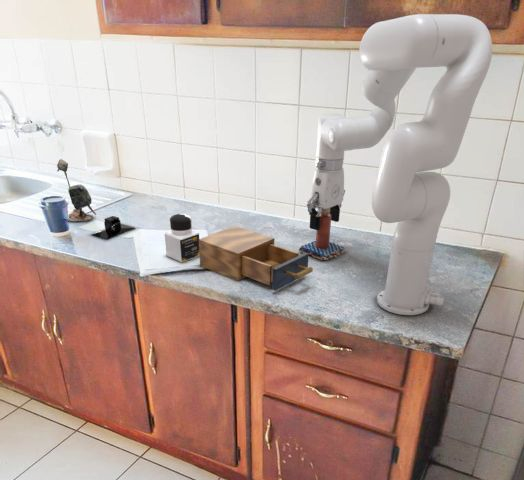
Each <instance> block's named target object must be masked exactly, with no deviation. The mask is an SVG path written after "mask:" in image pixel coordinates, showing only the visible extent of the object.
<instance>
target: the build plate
mask: <svg viewBox="0 0 524 480" xmlns="http://www.w3.org/2000/svg"><path fill="white" fill-rule="evenodd" d="M103 224H104V229H102V230H99V231H96V232H93V233H91V236H93V237H95V238H99V239H102V240H106V241H108V240H110V239H113V238H115V237H118V236H120V235H123V234H126V233H128V232H131V231H133V230H136V227H134V226H131V225H127V224H123V223H121V219H120V217H118V216H115V215H112V216H108V217H106V218H104V222H103Z"/></svg>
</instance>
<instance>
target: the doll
mask: <svg viewBox="0 0 524 480" xmlns="http://www.w3.org/2000/svg"><path fill="white" fill-rule="evenodd" d="M329 213H330V208H328V209H322V211H321V213H320V215H319V216H321V220H320V230H318V231H317V230H315V231H316V232H315V241H316V244H315V246H316V247H317V248H328V247H329V242H330V238H331V227H332V220H331V217H332V215H331V214H329Z"/></svg>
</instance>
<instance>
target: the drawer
mask: <svg viewBox="0 0 524 480" xmlns="http://www.w3.org/2000/svg"><path fill="white" fill-rule="evenodd" d="M309 256H310V255H309V254H308V253H301V254H300V253H299V252H297V251H296V250H295V251H294V250H291V249H289V248H285V247H282V246H280V245H277V244H274V245H273V244H270V243H269V244H267V245H265V246H262V247H260V248H258V249H255V250H253V251H251V252H248V253H246V254H244V255H241V256H240V261H241V275H244V276H246V278H249V279H252V280H254V281H257V282H259V283H262V284H265V285H268V286H271V290H272V291H274V292H276V291H279V290H280V289H282V288H284V287H286V286H287V285H290V284H291V283H294V282H295V281H298V280H299V279H302V278H303V277H306V276H307V275H309V274H311V273H313V271H314V269H313V267H312V266H309Z"/></svg>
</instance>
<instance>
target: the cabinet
mask: <svg viewBox="0 0 524 480" xmlns="http://www.w3.org/2000/svg"><path fill="white" fill-rule="evenodd" d="M269 243H270V244H273V245H275V237H272V236H269V235H266V234H263V233H259V232H257V231H254V230H250V229H248V228H245V227H241V226H237V225H233V226H231V227H228V228H225V229H222V230H219V231H217V232H215V233H212V234H210V235H207V236H203V237H201V238H199V256H198V257H199V267H201V268H205V269H207V270H210V271H212V272H215V273H218V274H219V275H222V276H224V277H227V278H230V279H231V280H232V279H233V280H235V281H238V282H241V281H242V280H244V279H246V278H247V277H246V276H244V275H241V261H240V256H241V255H244V254H246V253H248V252H251V251H253V250H255V249H258V248H260V247H262V246H265V245H267V244H269Z"/></svg>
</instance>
